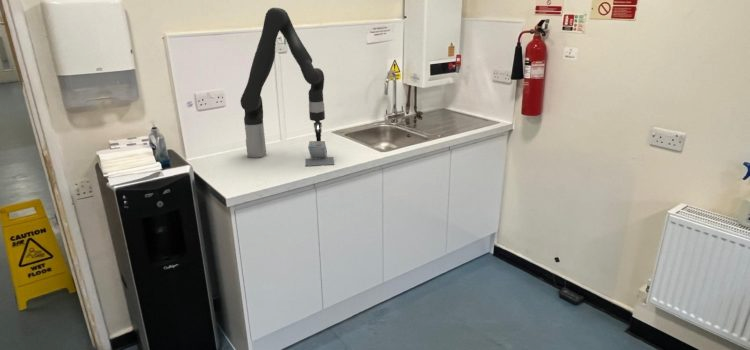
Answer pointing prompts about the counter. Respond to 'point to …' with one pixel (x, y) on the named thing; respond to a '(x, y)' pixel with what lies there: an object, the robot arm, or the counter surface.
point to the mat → (319, 161)
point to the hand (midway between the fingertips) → (318, 143)
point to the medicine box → (317, 149)
